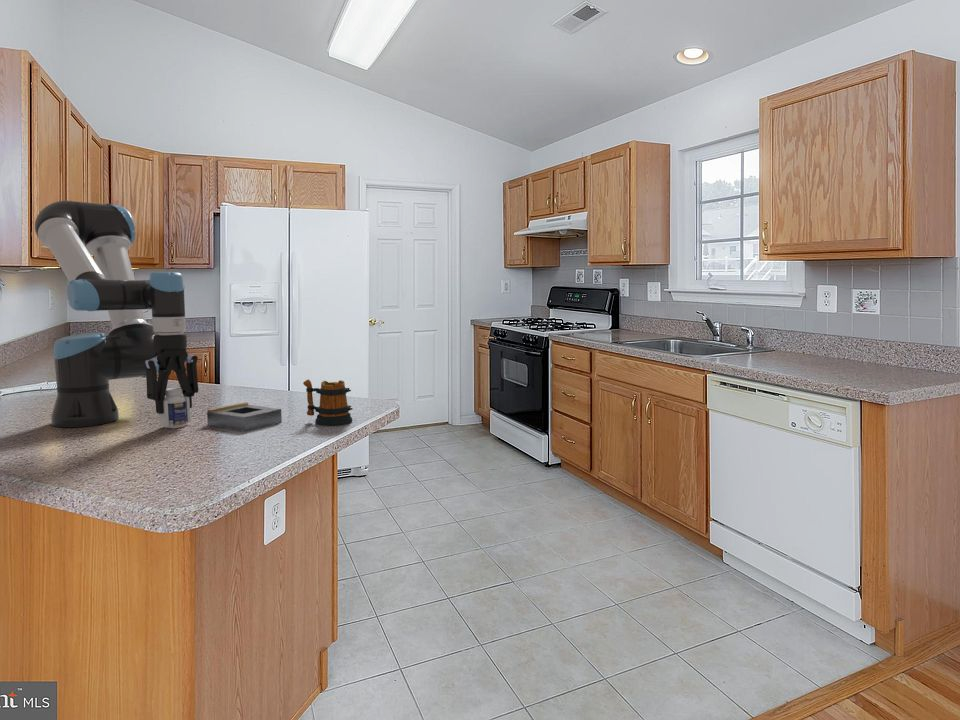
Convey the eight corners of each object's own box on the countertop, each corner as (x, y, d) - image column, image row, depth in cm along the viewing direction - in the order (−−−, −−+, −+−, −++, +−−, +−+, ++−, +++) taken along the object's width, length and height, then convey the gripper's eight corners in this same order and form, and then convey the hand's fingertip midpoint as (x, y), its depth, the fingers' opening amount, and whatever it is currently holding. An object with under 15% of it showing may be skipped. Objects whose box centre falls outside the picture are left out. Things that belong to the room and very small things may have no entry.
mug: (357, 418, 169) (356, 376, 167) (348, 426, 159) (347, 382, 157) (310, 417, 169) (308, 376, 168) (298, 426, 159) (296, 382, 158)
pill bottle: (177, 429, 156) (175, 391, 154) (159, 428, 157) (156, 390, 155) (191, 424, 161) (189, 387, 160) (173, 423, 162) (171, 387, 161)
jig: (207, 425, 160) (206, 409, 160) (245, 416, 171) (244, 402, 170) (244, 431, 153) (244, 415, 153) (281, 421, 164) (281, 406, 163)
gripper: (144, 336, 146) (150, 432, 149) (211, 331, 162) (215, 418, 165) (125, 335, 150) (131, 429, 152) (192, 330, 166) (197, 415, 168)
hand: (175, 423), depth 159 cm, fingers closed on pill bottle, 5 cm apart
